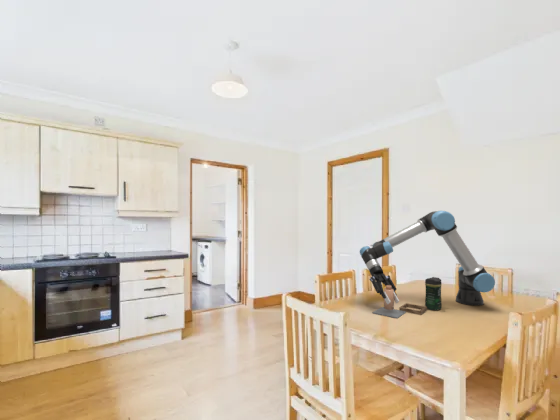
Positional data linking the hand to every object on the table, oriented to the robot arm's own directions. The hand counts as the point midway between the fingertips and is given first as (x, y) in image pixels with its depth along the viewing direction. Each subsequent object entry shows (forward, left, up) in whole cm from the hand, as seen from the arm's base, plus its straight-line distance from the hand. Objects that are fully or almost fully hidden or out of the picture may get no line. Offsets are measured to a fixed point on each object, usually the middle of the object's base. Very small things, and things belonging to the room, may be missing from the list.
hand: (393, 302), depth 170 cm
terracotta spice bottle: (+3, -2, -4) cm, 6 cm away
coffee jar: (-14, -28, -7) cm, 32 cm away
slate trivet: (+3, -2, -7) cm, 8 cm away
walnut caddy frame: (-6, -16, -7) cm, 18 cm away
